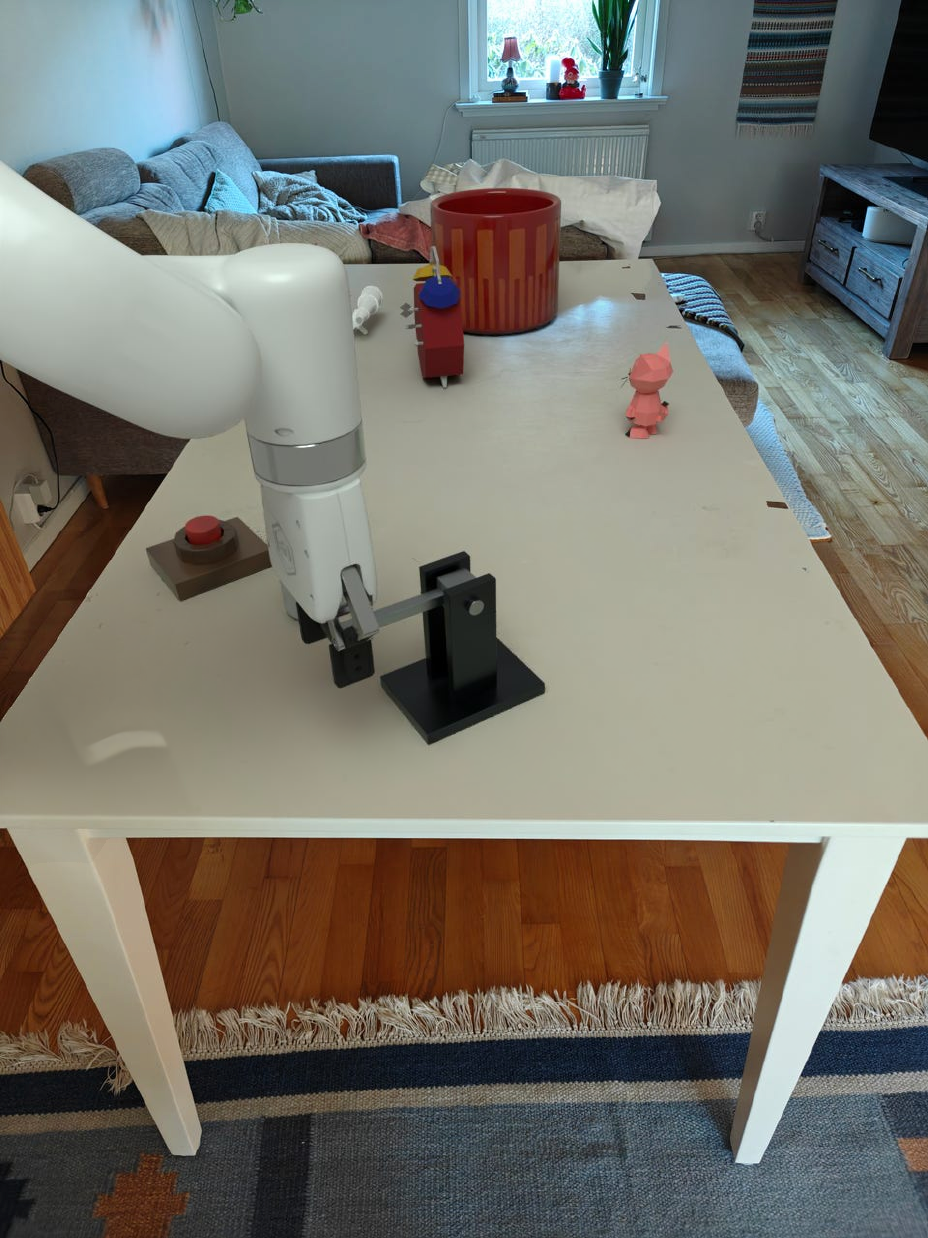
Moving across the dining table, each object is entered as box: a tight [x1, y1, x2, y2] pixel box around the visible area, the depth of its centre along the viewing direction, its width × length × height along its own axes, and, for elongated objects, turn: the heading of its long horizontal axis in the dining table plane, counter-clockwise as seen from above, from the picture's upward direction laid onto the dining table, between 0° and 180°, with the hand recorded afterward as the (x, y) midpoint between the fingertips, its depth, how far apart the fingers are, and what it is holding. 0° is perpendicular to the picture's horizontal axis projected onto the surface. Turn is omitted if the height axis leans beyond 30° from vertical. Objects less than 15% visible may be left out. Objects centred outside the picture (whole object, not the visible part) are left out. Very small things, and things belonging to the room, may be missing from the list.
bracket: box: [379, 550, 546, 746], centre depth 73 cm, size 12×9×13 cm
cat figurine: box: [620, 341, 674, 440], centre depth 115 cm, size 7×7×12 cm
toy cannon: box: [352, 285, 384, 336], centre depth 154 cm, size 8×14×5 cm
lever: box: [314, 568, 477, 644], centre depth 68 cm, size 13×6×2 cm, turn 121°
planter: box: [429, 187, 562, 336], centre depth 154 cm, size 23×23×20 cm
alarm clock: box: [399, 246, 465, 389], centre depth 131 cm, size 15×9×20 cm, turn 9°
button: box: [184, 514, 222, 545], centre depth 92 cm, size 4×4×2 cm
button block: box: [145, 516, 272, 602], centre depth 94 cm, size 11×9×4 cm
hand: (337, 656), depth 67 cm, fingers closed on lever, 5 cm apart
